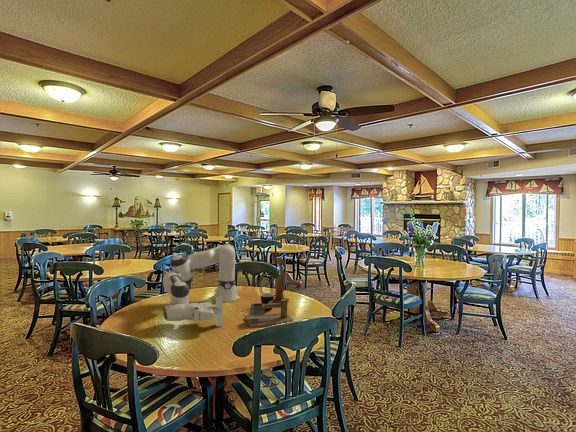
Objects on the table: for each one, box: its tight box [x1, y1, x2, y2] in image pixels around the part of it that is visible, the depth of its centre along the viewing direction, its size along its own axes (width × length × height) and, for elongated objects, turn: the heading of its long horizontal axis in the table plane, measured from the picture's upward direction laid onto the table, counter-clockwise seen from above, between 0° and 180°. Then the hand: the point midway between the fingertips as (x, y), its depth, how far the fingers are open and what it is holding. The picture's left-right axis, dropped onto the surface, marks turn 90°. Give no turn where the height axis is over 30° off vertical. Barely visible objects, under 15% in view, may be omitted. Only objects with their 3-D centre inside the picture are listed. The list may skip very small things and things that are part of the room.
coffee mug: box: [260, 292, 277, 312], centre depth 214 cm, size 12×9×10 cm
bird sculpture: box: [273, 257, 290, 303], centre depth 231 cm, size 11×12×32 cm
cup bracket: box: [244, 299, 294, 329], centre depth 193 cm, size 16×26×12 cm, turn 107°
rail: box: [214, 296, 224, 328], centre depth 184 cm, size 4×4×16 cm
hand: (220, 309), depth 185 cm, fingers open, 4 cm apart
